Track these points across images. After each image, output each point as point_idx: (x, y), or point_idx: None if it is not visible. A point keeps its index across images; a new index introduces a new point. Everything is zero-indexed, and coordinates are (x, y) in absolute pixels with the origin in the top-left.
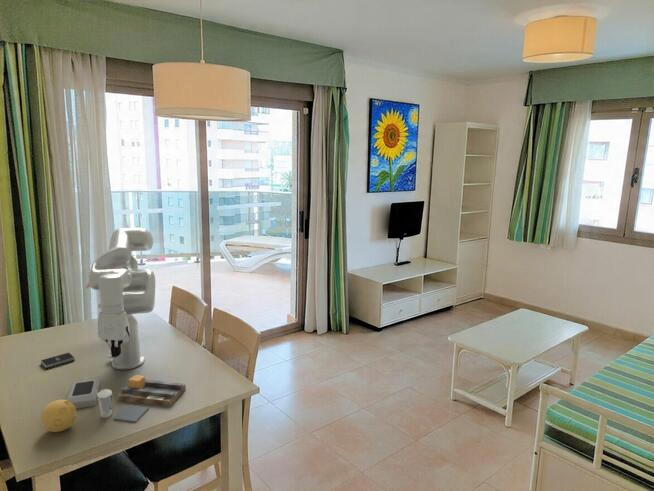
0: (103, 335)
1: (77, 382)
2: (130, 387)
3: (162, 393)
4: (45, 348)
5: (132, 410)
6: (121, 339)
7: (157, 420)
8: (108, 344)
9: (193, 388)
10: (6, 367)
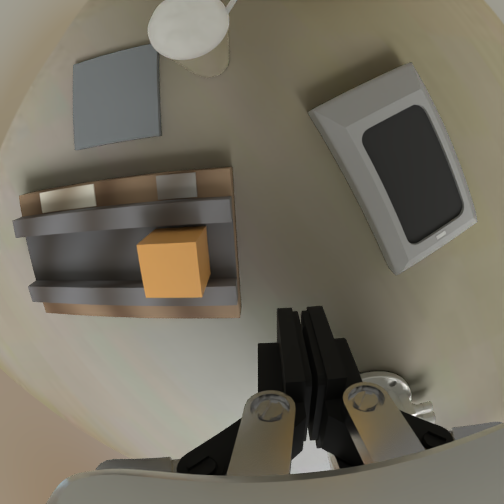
0: None
1: (463, 218)
2: (198, 230)
3: (41, 217)
4: None
5: (117, 110)
6: (74, 478)
7: (27, 108)
8: (392, 400)
9: (42, 311)
10: None
